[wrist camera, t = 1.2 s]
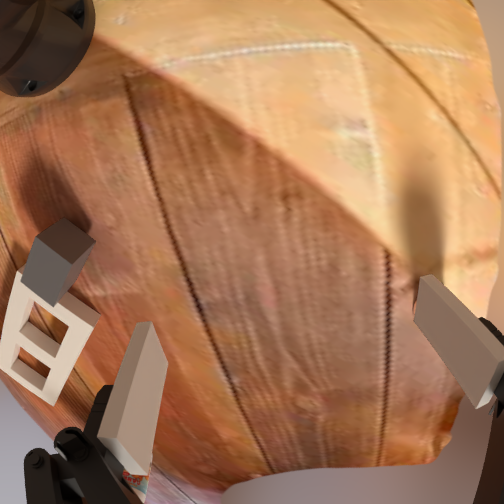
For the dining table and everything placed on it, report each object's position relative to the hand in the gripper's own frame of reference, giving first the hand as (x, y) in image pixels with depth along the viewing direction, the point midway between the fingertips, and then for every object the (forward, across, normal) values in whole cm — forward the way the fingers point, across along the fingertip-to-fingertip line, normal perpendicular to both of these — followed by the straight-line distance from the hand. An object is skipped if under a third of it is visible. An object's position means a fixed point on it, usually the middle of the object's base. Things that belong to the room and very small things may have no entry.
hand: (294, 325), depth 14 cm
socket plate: (+22, -36, -15) cm, 45 cm away
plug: (+22, -23, -1) cm, 32 cm away
